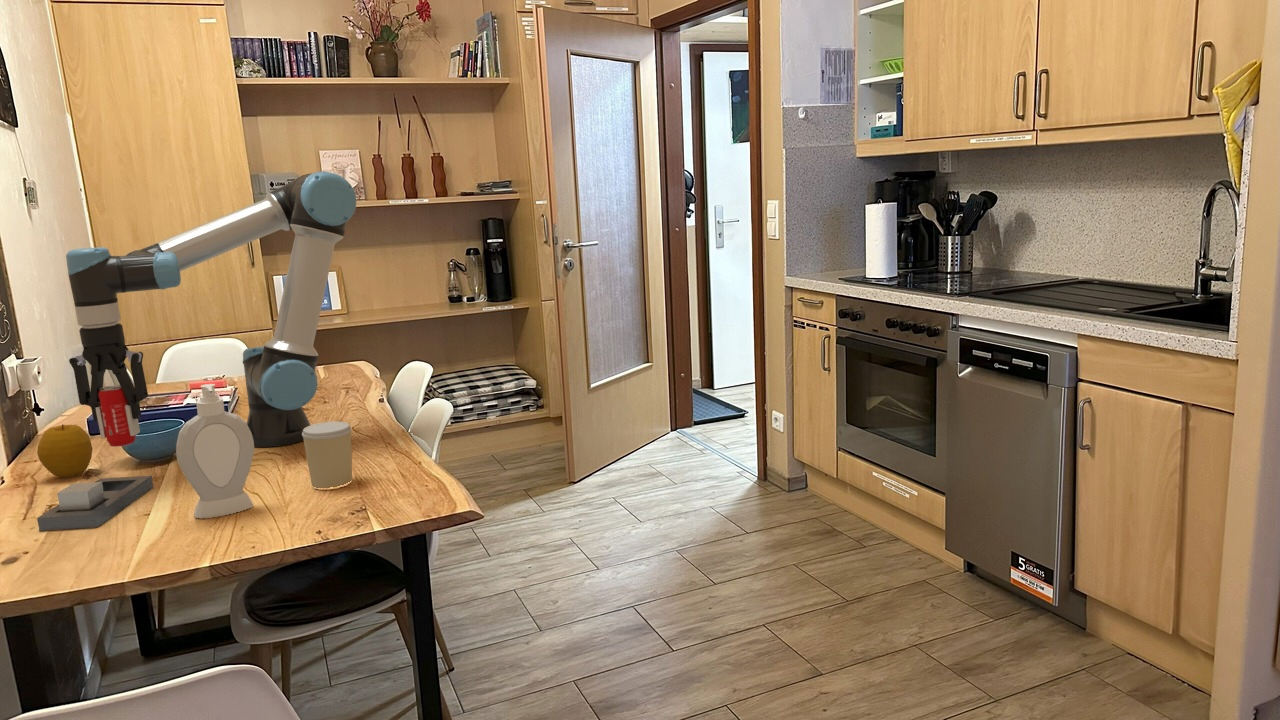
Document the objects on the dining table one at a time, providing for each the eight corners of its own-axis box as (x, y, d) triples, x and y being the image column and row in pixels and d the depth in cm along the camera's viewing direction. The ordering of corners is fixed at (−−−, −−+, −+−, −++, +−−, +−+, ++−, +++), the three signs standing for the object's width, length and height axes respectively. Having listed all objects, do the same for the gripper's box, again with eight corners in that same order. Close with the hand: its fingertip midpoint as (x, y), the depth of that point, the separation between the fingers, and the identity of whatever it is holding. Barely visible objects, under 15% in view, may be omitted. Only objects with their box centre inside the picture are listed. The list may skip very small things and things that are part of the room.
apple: (39, 487, 181) (30, 432, 178) (45, 474, 189) (36, 422, 187) (94, 478, 185) (85, 425, 183) (98, 467, 193) (90, 415, 191)
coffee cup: (366, 478, 179) (360, 422, 177) (336, 493, 171) (330, 434, 168) (328, 475, 182) (322, 419, 180) (297, 490, 174) (291, 431, 171)
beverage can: (123, 447, 178) (113, 390, 176) (102, 447, 179) (91, 390, 177) (142, 439, 183) (132, 384, 181) (121, 439, 184) (111, 384, 182)
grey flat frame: (153, 487, 178) (149, 459, 177) (97, 527, 157) (92, 495, 156) (102, 490, 177) (97, 462, 176) (39, 531, 156) (33, 499, 155)
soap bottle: (187, 528, 155) (169, 395, 150) (184, 515, 161) (166, 387, 157) (265, 512, 162) (250, 384, 157) (259, 500, 168) (244, 377, 163)
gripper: (155, 318, 180) (173, 426, 185) (63, 325, 179) (84, 433, 184) (138, 324, 173) (158, 436, 178) (42, 331, 172) (65, 443, 176)
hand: (120, 434), depth 181 cm, fingers closed on beverage can, 5 cm apart
